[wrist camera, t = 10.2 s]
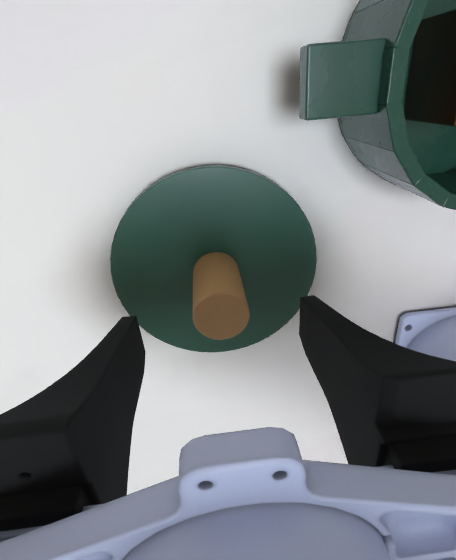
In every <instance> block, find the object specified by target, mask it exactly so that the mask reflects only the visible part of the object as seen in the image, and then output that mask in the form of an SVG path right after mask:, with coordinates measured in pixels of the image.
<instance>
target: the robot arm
mask: <svg viewBox="0 0 456 560" xmlns="http://www.w3.org/2000/svg"><path fill="white" fill-rule="evenodd" d="M407 325H408V326H407ZM405 326H407V327H405ZM299 335H300V338H301V341H302V345H303V348H304V351H305V354H306V356H307V358H308V360H309V362H310V364H311V366H312V369H313V371H314V373H315V375H316V377H317V379H318V381H319V383H320V385H321V387H322V389H323V391H324V394H325V396H326V398H327V401H328V403H329V406H330V409H331V412H332V415H333V418H334V420H335V423H336V426H337V429H338V432H339V435H340V439H341V442H342V445H343V448H344V451H345V455H346V458H347V461H348V464H339V463H330V462H320V461H310V460H302V457H301V454H300V451H299V447H298V444H297V441H296V439H295V436H294V434H292V433H291V432H289V431H287V430H285V429H283V428H273V427H267V428H259V429H251V430H243V431H235V432H228V433H220V434H212V435H205V436H202V437H198V438H195V439H192V440H191V441H189V442H188V443H187V444H186V445H185V446H184V447H183V448H182V449H181V453H180V459H179V476H177V477H175V478H172V479H169V480H167V481H164V482H161V483H158V484H156V485H153V486H150V487H148V488H145V489H142V490H140V491H137V492H134V493H132V494H129V495H127V481H128V468H129V456H130V446H131V436H132V427H133V421H134V416H135V411H136V407H137V402H138V398H139V393H140V389H141V384H142V379H143V374H144V366H145V349H144V345H143V340H142V336H141V332H140V328H139V324H138V320H137V316H128V317H122V318H121V319H120V320H119V321H118V322H117V324H116V325H115V326H114V327H113V328H112V329H111V331H110V332H109V333H108V334H107V335H106V336H105V337H104V339H103V340H102V341H101V342H100V343H99V344H98V345H97V346H96V347H95V348H94V349H93V350H92V351H91V352H90V353H89V354H88V355H87V356H86V357H85V358H84V359H83V360H82V361H81V362H80V363H79V364H78V365H77V366H75V367H74V368H73V369H72V370H71V371H69V372H68V373H67V374H66V375H64V376H63V377H62V378H60V379H59V380H58V381H56V382H55V383H53V384H52V385H51V386H49V387H48V388H46V389H45V390H43V391H42V392H40V393H39V394H37V395H35V396H34V397H32V398H30V399H29V400H27V401H25V402H24V403H22V404H20V405H18V406H16V407H14V408H12V409H11V410H9V411H7V412H5V413H3V414H1V415H0V560H456V307H453V308H445V309H436V310H427V311H418V312H410V313H405V314H403V315H402V316H401V317H400V320H399V325H398V331H397V336H396V341H395V343H392V342H390V341H388V340H385V339H383V338H381V337H379V336H377V335H375V334H373V333H371V332H369V331H367V330H365V329H363V328H361V327H360V326H358V325H356V324H355V323H353V322H351V321H350V320H348V319H347V318H345V317H344V316H342V315H341V314H339V313H338V312H336V311H335V310H334V309H332V308H331V307H329V306H328V305H327V304H325V303H324V302H323V301H321V300H320V299H319V298H317V297H316V296H314V295H313V296H304V297H300V327H299Z"/></svg>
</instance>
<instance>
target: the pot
mask: <svg viewBox="0 0 456 560" xmlns="http://www.w3.org/2000/svg"><path fill="white" fill-rule="evenodd" d="M455 9H456V0H360V2H359V3H358V5H357V7H356V9H355V11H354V13H353V15H352V17H351V20H350V22H349V24H348V26H347V29H346V32H345V35H344V38H343V41H340V42H328V43H316V44H308V45H306V46H303V47H301V49H300V99H299V118H300V119H304V120H317V119H328V118H338V120H339V124H340V128H341V130H342V133H343V135H344V138H345V140H346V142H347V144H348V145H349V147H350V149H351V151H352V152H353V153H354V155H355V156H356V157H357V158H358V160H359V161H360V162H361V163H362V164H364V165H365V166H366V167H367V168H368V169H369V170H371V171H372V172H374V173H376V174H377V175H379V176H380V177H382V178H383V179H384V180H387V181H389V182H391V183H393V184H395V185H397V186H399V187H401V188H404V189H406V190H408V191H410V192H412V193H414V194H416V195H418V196H421V197H423V198H425V199H427V200H429V201H431V202H433V203H435V204H438V205H440V206H442V207H446V208H450V209H454V210H456V126H448V125H440V124H433V123H426V122H419V121H412V120H405V114H404V108H405V101H406V94H407V87H408V81H409V74H410V67H411V60H412V54H413V47H414V40H415V35H416V32H417V30H418V27H419V25H420V22H421V20H422V19H425V18H429V17H432V16H435V15H438V14H442V13H445V12H448V11H451V10H455Z"/></svg>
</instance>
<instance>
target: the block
mask: <svg viewBox="0 0 456 560" xmlns="http://www.w3.org/2000/svg"><path fill="white" fill-rule="evenodd" d="M404 114H405V120H412V121H419V122H426V123H433V124H440V125H448V126H456V9H455V10H451V11H448V12H445V13H442V14H438V15H435V16H432V17H429V18H425V19H422V20H421V22H420V25H419V27H418V30H417V32H416V35H415V40H414V47H413V54H412V60H411V67H410V74H409V81H408V87H407V94H406V101H405V108H404Z"/></svg>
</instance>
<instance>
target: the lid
mask: <svg viewBox="0 0 456 560" xmlns="http://www.w3.org/2000/svg"><path fill="white" fill-rule="evenodd" d="M110 261H111V274H112V279H113V284H114V287H115V290H116V293H117V295H118V297H119V299H120V301H121V303H122V305H123V306H124V308H125V309H126V311H127V312H128V314H129V315H130V316H137V320H138V324H139V325H140V326H141V327H142V328H143V329H144V330H145V331H147V332H148V333H150V334H151V335H153V336H154V337H156V338H158V339H160V340H162V341H164V342H166V343H168V344H170V345H173V346H176V347H179V348H183V349H187V350H192V351H199V352H224V351H230V350H236V349H240V348H243V347H247V346H250V345H252V344H255V343H257V342H259V341H261V340H263V339H265V338H267V337H269V336H270V335H272V334H273V333H275V332H276V331H278V330H279V329H280V328H282V327H283V326H284V325H285V324H286V323H287V322H288V321H289V320H290V319H291V318H292V317H293V316H294V315H295V314H296V312H297V311H298V310H299V308H300V297H304V296H307V295H308V293H309V291H310V288H311V286H312V283H313V279H314V275H315V269H316V245H315V239H314V235H313V232H312V229H311V226H310V224H309V222H308V220H307V218H306V216H305V214H304V212H303V211H302V210H301V208H300V207H299V205H298V204H297V203H296V201H295V200H294V199H293V198H292V197H291V196H290V195H289V194H288V193H287V192H286V191H285V190H284V189H282V188H281V187H280V186H278V185H277V184H276V183H274V182H273V181H271V180H269V179H268V178H266V177H264V176H262V175H260V174H257V173H255V172H252V171H250V170H246V169H242V168H238V167H233V166H224V165H205V166H199V167H193V168H188V169H185V170H182V171H178V172H175V173H173V174H171V175H169V176H167V177H164V178H162V179H160V180H159V181H157V182H156V183H154V184H153V185H151V186H150V187H148V188H147V189H146V190H145V191H144V192H143V193H142V194H140V195H139V196H138V197H137V198H136V200H135V201H134V202H133V203H132V204H131V205H130V207H129V208H128V210H127V211H126V213H125V214H124V216H123V218H122V219H121V221H120V223H119V226H118V228H117V230H116V232H115V236H114V239H113V243H112V248H111V258H110Z"/></svg>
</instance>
